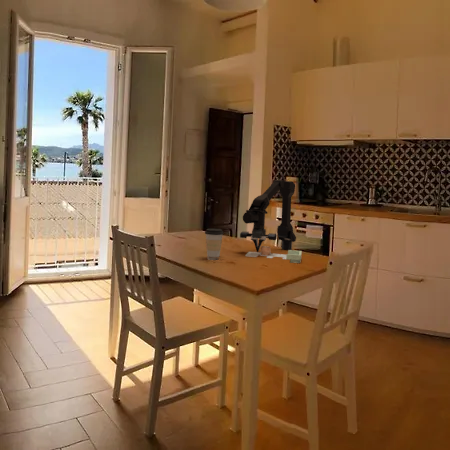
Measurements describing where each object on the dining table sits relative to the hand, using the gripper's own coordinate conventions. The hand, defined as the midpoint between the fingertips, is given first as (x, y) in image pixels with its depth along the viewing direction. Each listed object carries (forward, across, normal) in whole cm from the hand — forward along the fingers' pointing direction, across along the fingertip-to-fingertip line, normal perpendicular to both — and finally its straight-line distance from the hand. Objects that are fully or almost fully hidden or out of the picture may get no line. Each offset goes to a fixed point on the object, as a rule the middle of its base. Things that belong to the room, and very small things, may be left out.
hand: (257, 251), depth 244 cm
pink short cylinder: (+1, +4, 0) cm, 4 cm away
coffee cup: (+3, -20, -16) cm, 26 cm away
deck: (+2, +9, -2) cm, 9 cm away
